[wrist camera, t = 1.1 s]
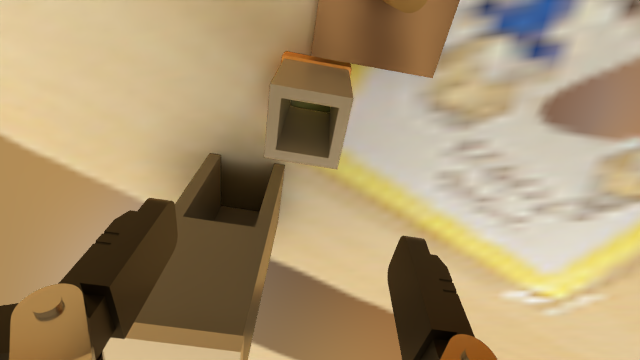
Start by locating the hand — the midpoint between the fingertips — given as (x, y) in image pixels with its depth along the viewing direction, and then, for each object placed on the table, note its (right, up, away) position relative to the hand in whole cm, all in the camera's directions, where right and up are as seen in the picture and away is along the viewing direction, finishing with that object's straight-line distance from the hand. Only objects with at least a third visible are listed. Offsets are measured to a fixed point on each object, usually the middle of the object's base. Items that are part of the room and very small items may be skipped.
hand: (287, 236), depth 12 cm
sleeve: (+1, +9, +15) cm, 18 cm away
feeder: (-6, +1, +20) cm, 21 cm away
